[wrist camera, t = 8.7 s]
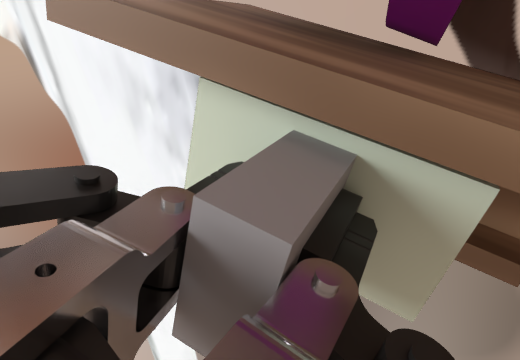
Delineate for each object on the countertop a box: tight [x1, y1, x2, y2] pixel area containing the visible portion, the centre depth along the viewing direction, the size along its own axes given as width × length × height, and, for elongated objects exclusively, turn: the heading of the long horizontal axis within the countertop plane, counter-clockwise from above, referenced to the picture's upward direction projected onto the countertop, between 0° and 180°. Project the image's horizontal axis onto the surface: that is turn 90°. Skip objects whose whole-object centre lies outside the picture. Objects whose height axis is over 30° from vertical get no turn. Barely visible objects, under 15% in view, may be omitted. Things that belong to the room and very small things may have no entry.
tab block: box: [172, 77, 500, 357], centre depth 12 cm, size 5×9×13 cm, turn 76°
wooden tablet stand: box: [46, 0, 520, 287], centre depth 16 cm, size 9×20×14 cm, turn 73°
